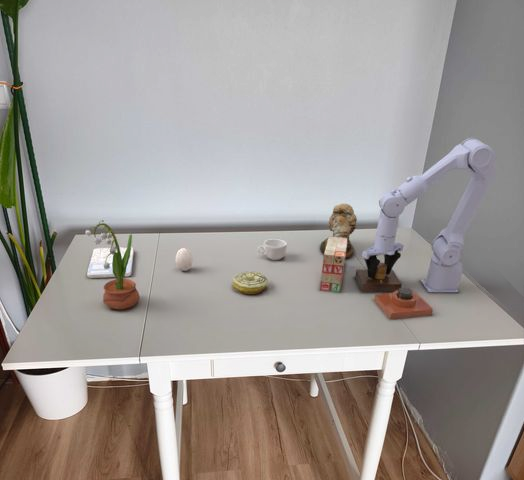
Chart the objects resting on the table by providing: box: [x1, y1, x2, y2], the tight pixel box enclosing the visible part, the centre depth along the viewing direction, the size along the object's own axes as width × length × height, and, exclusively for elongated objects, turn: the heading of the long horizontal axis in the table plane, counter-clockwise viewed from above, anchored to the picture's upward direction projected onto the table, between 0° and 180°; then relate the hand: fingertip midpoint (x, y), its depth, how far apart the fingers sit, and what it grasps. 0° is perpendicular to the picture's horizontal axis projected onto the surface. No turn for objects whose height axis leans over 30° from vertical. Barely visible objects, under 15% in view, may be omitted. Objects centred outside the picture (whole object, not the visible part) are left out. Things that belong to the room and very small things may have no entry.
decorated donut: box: [232, 271, 270, 295], centre depth 152 cm, size 10×11×4 cm
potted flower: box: [84, 220, 140, 310], centre depth 135 cm, size 12×10×25 cm
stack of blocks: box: [319, 236, 347, 293], centre depth 158 cm, size 21×6×12 cm, turn 168°
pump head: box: [397, 287, 414, 300], centre depth 143 cm, size 4×4×2 cm
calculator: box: [86, 246, 135, 279], centre depth 163 cm, size 13×20×2 cm, turn 10°
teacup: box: [257, 238, 288, 261], centre depth 170 cm, size 10×8×5 cm
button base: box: [373, 290, 434, 320], centre depth 145 cm, size 13×11×4 cm
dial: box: [374, 261, 387, 279], centre depth 154 cm, size 4×4×4 cm
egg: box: [175, 247, 193, 272], centre depth 160 cm, size 5×5×8 cm
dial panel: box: [354, 269, 403, 294], centre depth 156 cm, size 12×10×3 cm
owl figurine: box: [320, 203, 358, 261], centre depth 175 cm, size 18×12×17 cm, turn 1°
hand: (378, 275), depth 155 cm, fingers open, 6 cm apart
